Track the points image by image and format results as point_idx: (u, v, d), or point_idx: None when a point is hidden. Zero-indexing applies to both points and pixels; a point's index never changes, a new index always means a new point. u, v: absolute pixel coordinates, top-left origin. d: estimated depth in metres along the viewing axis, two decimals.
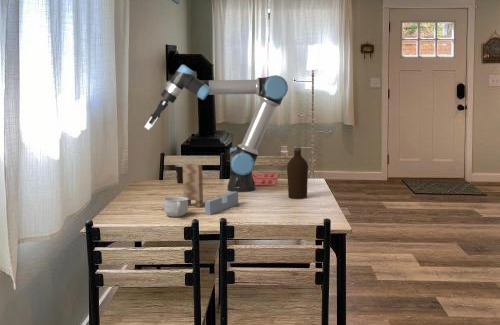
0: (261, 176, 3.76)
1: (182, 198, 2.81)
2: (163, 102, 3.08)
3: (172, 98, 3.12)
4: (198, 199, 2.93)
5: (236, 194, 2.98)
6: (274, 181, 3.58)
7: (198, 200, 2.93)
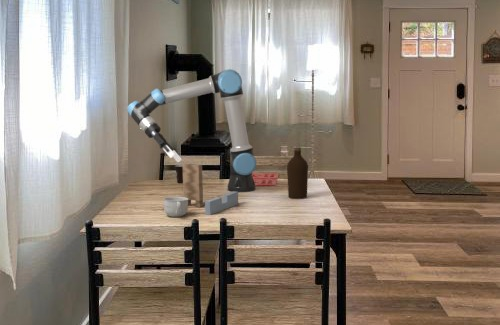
0: (261, 176, 3.76)
1: (182, 198, 2.81)
2: (152, 133, 3.02)
3: (154, 125, 3.07)
4: (198, 199, 2.93)
5: (236, 194, 2.98)
6: (274, 181, 3.57)
7: (198, 200, 2.93)
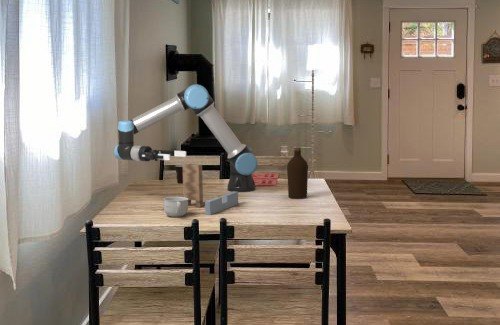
0: (261, 176, 3.76)
1: (182, 198, 2.81)
2: (143, 156, 2.98)
3: (141, 149, 3.03)
4: (198, 199, 2.93)
5: (236, 194, 2.98)
6: (274, 181, 3.57)
7: (198, 200, 2.93)
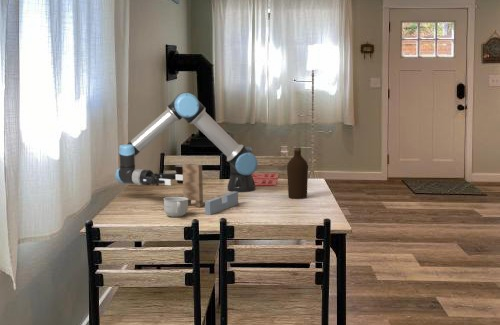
0: (261, 176, 3.76)
1: (182, 198, 2.81)
2: (144, 180, 3.00)
3: (142, 173, 3.05)
4: (198, 199, 2.93)
5: (236, 194, 2.98)
6: (274, 181, 3.57)
7: (198, 200, 2.93)
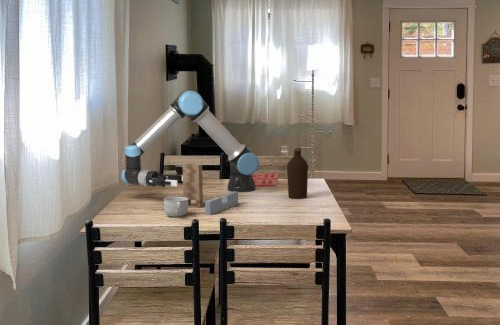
0: (261, 176, 3.76)
1: (182, 198, 2.81)
2: (150, 181, 2.98)
3: (148, 174, 3.03)
4: (198, 199, 2.93)
5: (236, 194, 2.98)
6: (274, 181, 3.57)
7: (198, 200, 2.93)
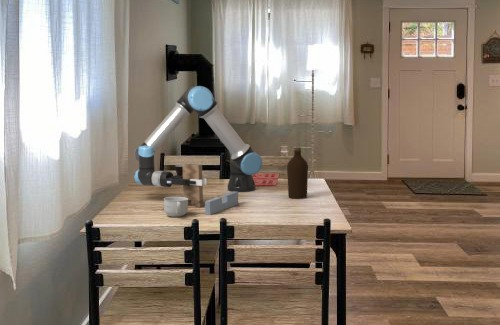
0: (262, 176, 3.76)
1: (182, 198, 2.81)
2: (168, 182, 2.94)
3: (162, 175, 2.99)
4: (198, 199, 2.93)
5: (236, 194, 2.98)
6: (275, 181, 3.57)
7: (198, 200, 2.93)
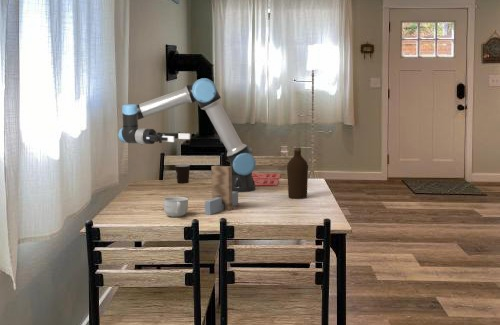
0: (263, 176, 3.75)
1: (182, 198, 2.81)
2: (147, 138, 3.01)
3: (145, 132, 3.06)
4: (228, 202, 2.86)
5: (236, 194, 2.98)
6: (276, 181, 3.57)
7: (228, 203, 2.86)
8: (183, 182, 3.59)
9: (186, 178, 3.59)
